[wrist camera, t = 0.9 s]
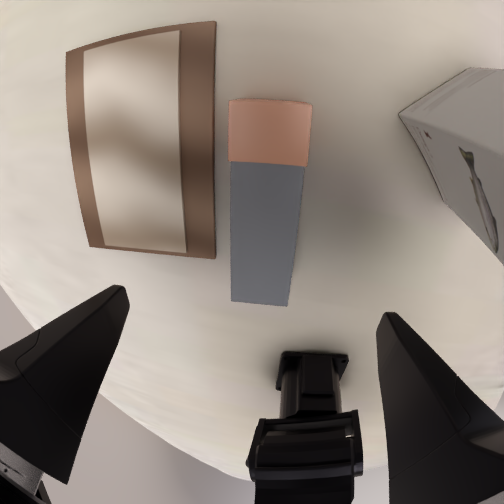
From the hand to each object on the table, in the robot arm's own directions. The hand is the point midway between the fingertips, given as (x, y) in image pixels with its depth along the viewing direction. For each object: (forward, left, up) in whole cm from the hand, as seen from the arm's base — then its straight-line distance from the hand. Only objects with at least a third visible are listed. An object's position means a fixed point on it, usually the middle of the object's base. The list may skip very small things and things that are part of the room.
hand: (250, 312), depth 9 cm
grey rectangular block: (0, 0, -11) cm, 11 cm away
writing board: (+3, +9, -11) cm, 14 cm away
